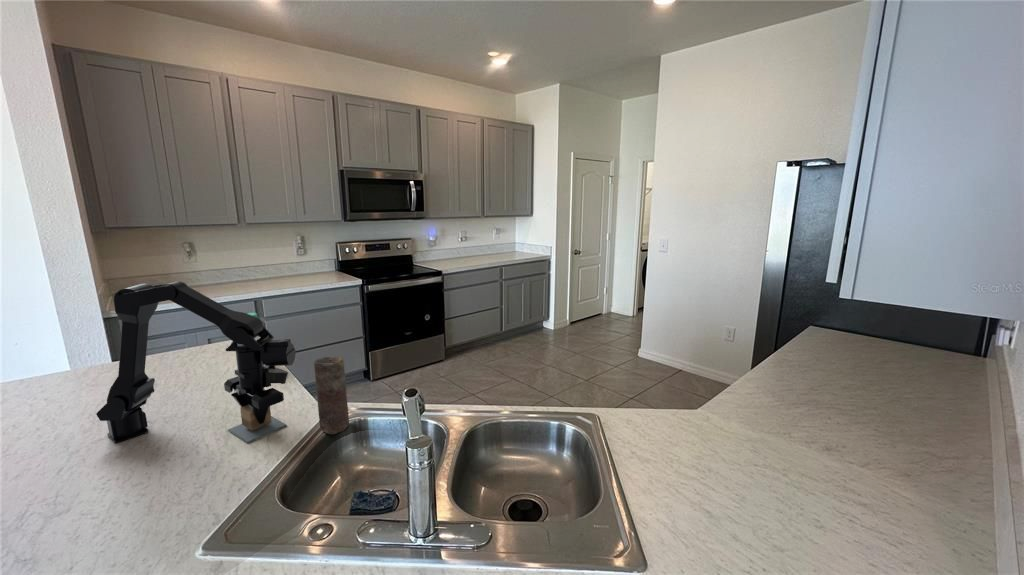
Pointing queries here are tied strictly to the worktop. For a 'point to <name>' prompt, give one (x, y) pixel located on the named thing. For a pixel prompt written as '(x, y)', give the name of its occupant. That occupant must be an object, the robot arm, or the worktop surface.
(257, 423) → the walnut cube
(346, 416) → the candle
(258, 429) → the slate pad
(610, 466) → the worktop surface
